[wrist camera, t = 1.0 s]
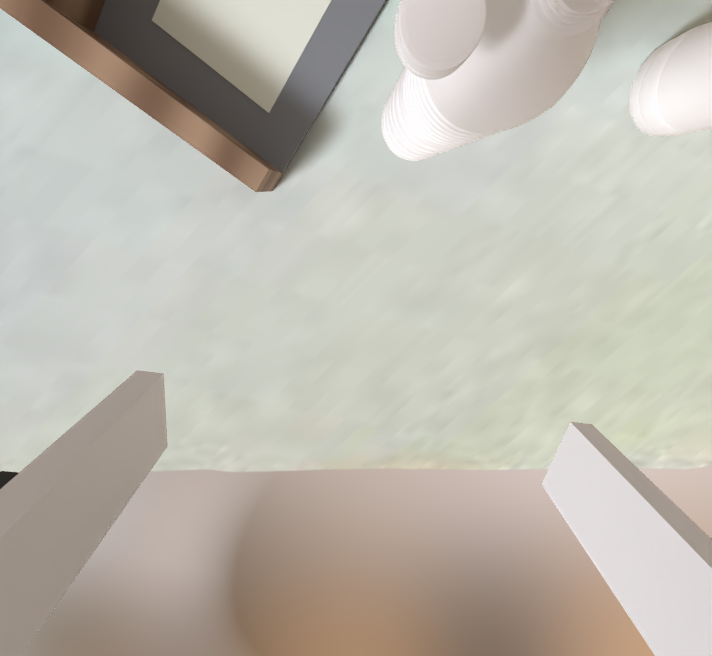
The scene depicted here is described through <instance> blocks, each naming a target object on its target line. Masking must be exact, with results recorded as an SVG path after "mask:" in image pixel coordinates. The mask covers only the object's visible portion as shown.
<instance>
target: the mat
mask: <svg viewBox="0 0 712 656" xmlns="http://www.w3.org/2000/svg"><path fill="white" fill-rule="evenodd" d="M385 2H386V0H105V3H104V6H103V8H102V11H101V14H100V16H99V19H98V22H97V24H96V27H95V30H94V32H95V33H96V34H98V35H99V36H100V37H102V38H103V39H104V40H106V41H107V42H108V43H110V44H111V45H112V46H114V47H115V48H116V49H118V50H119V51H120V52H122V53H123V54H124V55H126V56H127V57H128V58H130V59H131V60H132V61H134V62H135V63H136V64H138V65H139V66H140V67H142V68H143V69H144V70H146V71H147V72H148V73H150V74H151V75H152V76H154V77H155V78H156V79H158V80H159V81H160V82H162V83H163V84H164V85H166V86H167V87H168V88H170V89H171V90H172V91H174V92H175V93H176V94H178V95H179V96H180V97H181V98H183V99H184V100H185V101H187V102H188V103H189V104H191V105H192V106H193V107H195V108H196V109H197V110H199V111H200V112H201V113H203V114H204V115H205V116H207V117H208V118H209V119H211V120H212V121H213V122H215V123H216V124H217V125H219V126H220V127H221V128H223V129H224V130H225V131H227V132H228V133H229V134H231V135H232V136H233V137H235V138H236V139H237V140H239V141H240V142H241V143H243V144H244V145H245V146H247V147H248V148H249V149H251V150H252V151H253V152H255V153H256V154H257V155H259V156H260V157H261V158H263V159H264V160H265V161H267V162H268V163H269V164H271V165H272V166H273V167H275V168H276V169H277V170H279V171H280V172H281V173H283V172H284V171H285V169H286V167H287V166H288V164H289V162H290V161H291V159H292V157H293V156H294V154H295V152H296V151H297V149H298V147H299V146H300V144H301V142H302V141H303V139H304V137H305V136H306V134H307V132H308V131H309V129H310V127H311V126H312V124H313V122H314V121H315V119H316V117H317V116H318V114H319V112H320V111H321V109H322V107H323V105H324V104H325V102H326V100H327V99H328V97H329V95H330V94H331V92H332V90H333V89H334V87H335V85H336V84H337V82H338V80H339V79H340V77H341V75H342V74H343V72H344V70H345V69H346V67H347V65H348V64H349V62H350V60H351V59H352V57H353V55H354V54H355V52H356V50H357V49H358V47H359V45H360V44H361V42H362V40H363V39H364V37H365V35H366V34H367V32H368V30H369V29H370V27H371V25H372V24H373V22H374V20H375V19H376V17H377V15H378V14H379V12H380V10H381V9H382V7H383V5H384V4H385Z"/></svg>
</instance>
